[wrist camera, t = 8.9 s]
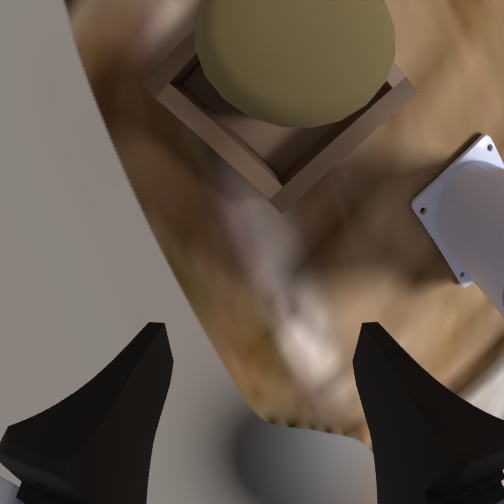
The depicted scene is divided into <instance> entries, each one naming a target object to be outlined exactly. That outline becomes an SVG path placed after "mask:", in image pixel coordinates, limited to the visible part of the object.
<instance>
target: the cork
mask: <svg viewBox="0 0 504 504" xmlns="http://www.w3.org/2000/svg"><path fill="white" fill-rule="evenodd" d="M195 50H196V52H197V55H198V58H199V60H200V63H201V66H202V69H203V71H204V74H205V76H206V78H207V79H208V80H209V81H210V83H211V84H212V85H213V86H214V87H215V89H216V90H217V91H218V92H219V94H220V95H221V96H222V97H223V99H224V100H226V101H227V102H229V103H230V104H232V105H233V106H235V107H236V108H238V109H239V110H241V111H242V112H244V113H245V114H246V115H248V116H249V117H252V118H255V119H258V120H261V121H264V122H267V123H271V124H274V125H277V126H280V127H302V128H313V127H317V126H321V125H325V124H329V123H333V122H337V121H341V120H343V119H344V118H346V117H347V116H349V115H351V114H352V113H354V112H356V111H357V110H359V109H360V108H362V107H364V106H365V105H366V104H367V103H368V102H369V101H370V100H371V99H372V98H373V96H374V95H375V94H376V93H377V92H378V90H379V89H380V88H381V87H382V85H383V84H384V83H385V82H386V80H387V77H388V74H389V72H390V69H391V66H392V63H393V60H394V57H395V28H394V25H393V22H392V19H391V17H390V14H389V11H388V8H387V6H386V3H385V1H384V0H203V1H202V3H201V6H200V8H199V11H198V14H197V16H196V21H195Z"/></svg>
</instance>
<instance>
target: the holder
mask: <svg viewBox="0 0 504 504" xmlns="http://www.w3.org/2000/svg"><path fill="white" fill-rule="evenodd" d="M142 87H143V88H144V89H145V90H146V91H147V92H148V93H150V94H151V95H152V96H153V97H154V98H155V99H157V100H158V101H159V102H160V103H161V104H162V105H164V106H165V107H166V108H167V109H168V110H169V111H171V112H172V113H173V114H174V115H175V116H176V117H177V118H179V119H180V120H181V121H182V122H183V123H184V124H185V125H187V126H188V127H189V128H190V129H191V130H192V131H193V132H194V133H196V134H197V135H198V136H199V137H200V138H201V139H202V140H203V141H205V142H206V143H207V144H208V145H209V146H210V147H211V148H212V149H213V150H215V151H216V152H217V153H218V154H219V155H220V156H221V157H222V158H223V159H224V160H226V161H227V162H228V163H229V164H230V165H231V166H232V167H233V168H234V169H235V170H236V171H237V172H239V173H240V174H241V175H242V176H243V177H244V178H245V179H246V180H247V181H248V182H249V183H250V184H251V185H252V186H254V187H255V188H256V189H257V190H258V191H259V192H260V193H261V194H262V195H263V196H264V197H265V198H266V199H267V200H268V201H269V202H270V203H271V204H273V205H274V206H275V207H276V208H277V209H278V210H279V211H280V212H281V213H282V214H283V213H284V212H285V211H286V210H287V209H288V208H289V207H290V206H291V205H293V204H294V203H295V202H296V201H297V200H298V199H299V198H300V197H301V196H303V195H304V194H305V193H306V192H307V191H308V190H309V189H310V188H311V187H312V186H314V185H315V184H316V183H317V182H318V181H319V180H320V179H321V178H322V177H324V176H325V175H326V174H327V173H328V172H329V171H330V170H331V169H332V168H334V167H335V166H336V165H337V164H338V163H339V162H340V161H341V160H342V159H344V158H345V157H346V156H347V155H348V154H349V153H350V152H351V151H352V150H354V149H355V148H356V147H357V146H358V145H359V144H360V143H361V142H362V141H364V140H365V139H366V138H367V137H368V136H369V135H370V134H371V133H373V132H374V131H375V130H376V129H377V128H378V127H379V126H380V125H381V124H383V123H384V122H385V121H386V120H387V119H388V118H389V117H390V116H392V115H393V114H394V113H395V112H396V111H397V110H398V109H399V108H401V107H402V106H403V105H404V104H405V103H406V102H407V101H408V100H410V99H411V98H412V97H413V96H414V95H415V94H416V93H417V90H416V89H415V88H414V87H413V85H412V84H411V83H410V81H409V80H408V79H407V77H406V76H405V75H404V74H403V72H402V71H401V70H400V69H399V67H398V66H397V65H396V64H395V63H394V61H393V63H392V66H391V69H390V72H389V74H388V77H387V80H386V82H385V83H384V84H383V85H382V87H381V88H380V89H379V90H378V92H377V93H376V94H375V95H374V96H373V98H372V99H371V100H370V101H369V102H368V103H367V104H366V105H365V106H364V107H362V108H360V109H359V110H357V111H356V112H354V113H352V114H351V115H349V116H347V117H346V118H344V119H343V120H341V121H337V122H333V123H329V124H325V125H321V126H317V127H313V128H302V127H280V126H277V125H274V124H271V123H267V122H264V121H261V120H258V119H255V118H252V117H249V116H248V115H246V114H245V113H244V112H242V111H241V110H239V109H238V108H236V107H235V106H233V105H232V104H230V103H229V102H227V101H226V100H224V99H223V97H222V96H221V95H220V94H219V92H218V91H217V90H216V89H215V87H214V86H213V85H212V84H211V83H210V81H209V80H208V79H207V78H206V76H205V74H204V71H203V69H202V66H201V63H200V60H199V58H198V55H197V52H196V50H195V28H194V29H193V30H192V31H191V32H190V33H189V34H188V36H187V37H186V38H185V39H184V40H183V41H182V42H181V43H180V44H179V45H178V46H177V47H176V48H175V49H174V50H173V51H172V52H171V53H170V54H169V56H168V57H167V58H166V59H165V60H164V61H163V62H162V63H161V64H160V66H159V67H158V68H157V69H156V70H155V71H154V72H153V74H152V75H151V76H150V77H149V78H148V79H147V81H146V82H145V83H144V84H143V85H142Z"/></svg>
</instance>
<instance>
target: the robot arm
mask: <svg viewBox="0 0 504 504" xmlns="http://www.w3.org/2000/svg"><path fill="white" fill-rule="evenodd" d="M488 145H489V149H487V146H488ZM411 207H412V209H413V211H414V212H415V213H416V215H417V216H418V218H419V219H420V221H421V222H422V224H423V225H424V227H425V228H426V230H427V231H428V233H429V234H430V236H431V237H432V239H433V240H434V242H435V243H436V245H437V246H438V248H439V250H440V251H441V253H442V254H443V256H444V258H445V259H446V261H447V262H448V264H449V266H450V267H451V269H452V271H453V272H454V274H455V276H456V278H457V279H458V281H459V283H460V284H461V286H462V287H467V286H469V285H470V284H471V283H472V282H473V281H474V282H475V284H476V285H477V286H478V287H479V288H480V289H481V291H482V292H483V293H484V294H485V295H486V297H487V298H488V299H489V300H490V301H491V303H492V304H493V305H494V306H495V307H496V309H497V310H498V311H499V312H500V314H501V315H502V316H503V318H504V164H503V162H502V160H501V158H500V156H499V154H498V151H497V149H496V147H495V145H494V143H493V141H492V139H491V138H490V136H489V135H486V134H482V135H481V136H480V137H479V138H478V139H477V140H476V141H475V142H474V143H473V144H472V145H471V146H470V147H469V148H468V149H467V150H466V151H465V152H463V153H462V154H461V155H460V156H459V157H458V158H457V159H456V160H455V161H454V162H453V163H452V164H451V165H450V166H449V167H448V168H447V169H446V170H445V171H444V172H442V173H441V174H440V175H439V176H438V177H437V178H436V179H435V180H434V181H433V182H432V183H431V184H429V185H428V186H427V187H426V188H425V189H424V190H423V191H422V192H421V193H420V194H419V195H417V196H416V197H415V198H414V199H413V200H412V203H411ZM423 207H424V211H423V212H422V213H420V210H421V208H423ZM462 272H463V273H462ZM461 273H462V274H461ZM460 274H461V275H460ZM173 362H174V361H173V357H172V353H171V349H170V345H169V340H168V336H167V331H166V327H165V323H155V322H149V323H148V324H147V325H146V326H145V327H144V328H143V329H142V330H141V331H140V332H139V333H138V335H136V337H135V338H134V339H133V340H132V341H131V342H130V343H129V344H128V345H127V346H126V347H125V348H124V349H123V350H122V351H121V352H120V353H119V354H118V355H117V356H116V357H115V358H114V360H113V361H111V362H110V363H109V364H108V365H107V366H106V367H105V368H104V369H103V370H102V371H101V372H100V373H98V374H97V375H96V376H95V377H94V378H93V379H92V380H90V381H89V382H88V383H86V384H85V385H84V386H83V387H81V388H80V389H79V390H77V391H76V392H74V393H73V394H71V395H70V396H68V397H67V398H65V399H64V400H62V401H60V402H59V403H57V404H56V405H54V406H52V407H50V408H49V409H47V410H45V411H43V412H41V413H39V414H37V415H35V416H33V417H30V418H28V419H26V420H23V421H21V422H18V423H16V424H13V425H10V426H8V428H7V430H6V432H5V434H4V436H3V438H2V440H1V442H0V463H2V465H3V466H5V467H6V468H7V469H8V470H9V471H10V472H11V473H12V474H14V475H15V476H16V477H17V478H18V479H20V480H21V481H22V483H21V485H20V487H18V486H17V485H15V484H13V483H12V482H10V481H8V480H6V479H4V478H2V477H0V504H146V500H147V487H148V477H149V469H150V461H151V454H152V448H153V442H154V438H155V433H156V430H157V426H158V423H159V419H160V416H161V413H162V409H163V406H164V403H165V399H166V396H167V392H168V389H169V386H170V380H171V375H172V368H173ZM352 362H353V368H354V375H355V381H356V386H357V389H358V393H359V396H360V400H361V403H362V407H363V410H364V414H365V417H366V421H367V424H368V428H369V431H370V436H371V440H372V447H373V454H374V461H375V471H376V482H377V502H378V504H504V486H503V485H502V482H501V481H502V480H503V479H504V473H503V469H504V420H502V419H499V418H497V417H495V416H492V415H490V414H488V413H486V412H484V411H482V410H481V409H479V408H477V407H475V406H473V405H472V404H470V403H468V402H467V401H465V400H464V399H462V398H460V397H459V396H457V395H456V394H454V393H453V392H452V391H450V390H449V389H447V388H446V387H445V386H444V385H442V384H441V383H440V382H438V381H437V380H436V379H435V378H433V377H432V376H431V375H430V374H429V373H428V372H427V371H426V370H424V369H423V368H422V367H421V366H420V365H419V364H418V363H417V362H416V361H415V360H414V359H413V358H412V357H411V356H410V355H409V354H408V353H407V352H406V351H405V350H404V349H403V348H402V347H401V346H400V345H399V344H398V343H397V342H396V341H395V340H394V339H393V338H392V337H391V336H390V334H389V333H388V332H387V331H386V330H385V329H384V328H383V327H382V326H381V325H380V324H379V323H378V322H368V323H362V326H361V330H360V334H359V338H358V342H357V346H356V350H355V354H354V358H353V361H352Z"/></svg>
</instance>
